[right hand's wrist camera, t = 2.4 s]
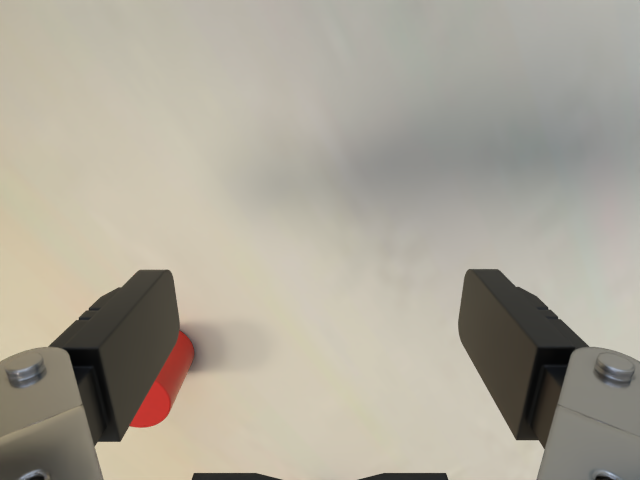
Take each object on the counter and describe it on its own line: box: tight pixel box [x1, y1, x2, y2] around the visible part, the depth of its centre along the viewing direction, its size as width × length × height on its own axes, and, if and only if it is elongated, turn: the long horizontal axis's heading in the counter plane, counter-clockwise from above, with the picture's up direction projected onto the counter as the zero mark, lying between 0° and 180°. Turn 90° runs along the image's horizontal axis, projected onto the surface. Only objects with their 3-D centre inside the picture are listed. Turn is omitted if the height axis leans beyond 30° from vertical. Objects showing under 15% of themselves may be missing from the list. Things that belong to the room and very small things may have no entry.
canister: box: [130, 331, 194, 428], centre depth 24 cm, size 4×4×5 cm
